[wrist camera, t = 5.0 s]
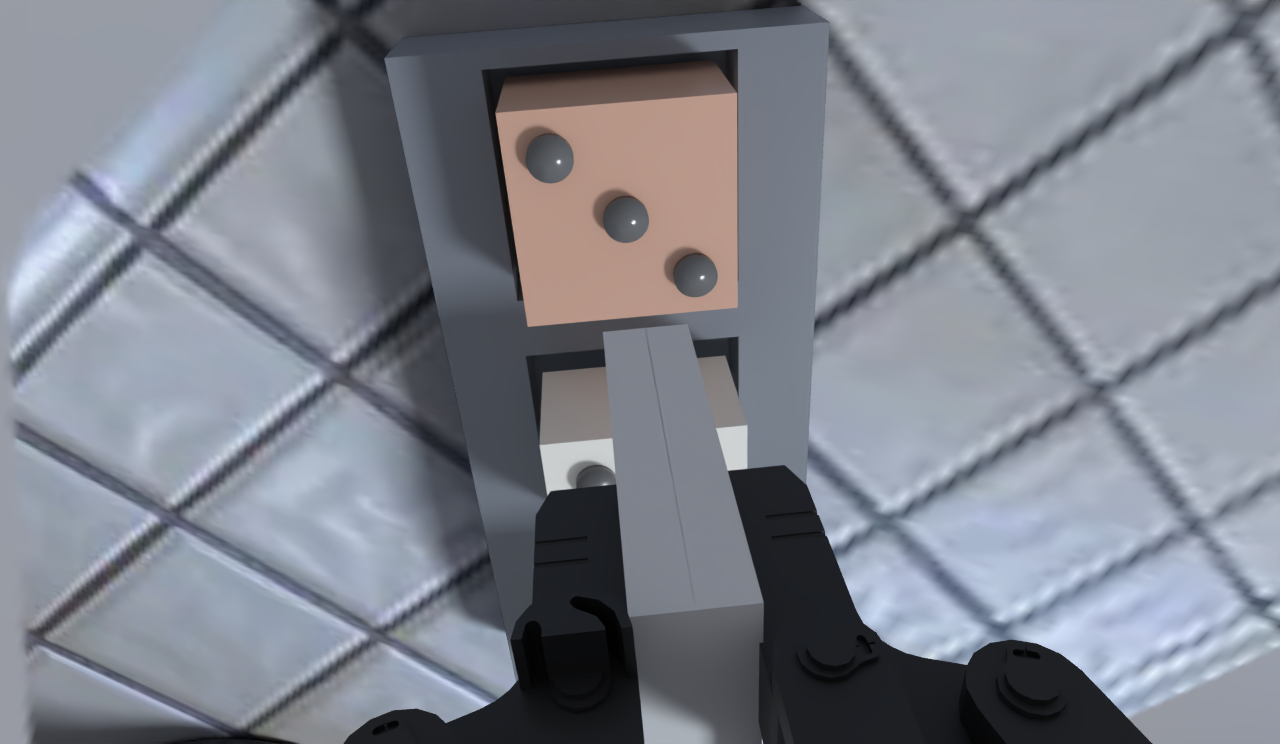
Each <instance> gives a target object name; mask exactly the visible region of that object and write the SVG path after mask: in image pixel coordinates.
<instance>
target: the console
mask: <svg viewBox="0 0 1280 744" xmlns="http://www.w3.org/2000/svg"><path fill="white" fill-rule="evenodd" d="M829 23H830V22H829V21H827V20H825V19H824V18H822V17H821V16H819V15H817V14H816V13H814V12H813V11H811V10H809V9H808V8H806V7H805V6H790V7H778V8H765V9H753V10H740V11H728V12H715V13H703V14H690V15H678V16H665V17H653V18H640V19H628V20H616V21H603V22H591V23H578V24H566V25H553V26H541V27H528V28H516V29H503V30H491V31H478V32H466V33H453V34H441V35H428V36H416V37H404V38H402V39H401V40H400V41H399V42H398V43H397V44H396V46H395V47H394V48H393V49H392V50H391V51H390V52H389V53H388V54H387V56H386V57H385V58H384V59H385V64H386V69H387V74H388V78H389V83H390V88H391V92H392V97H393V102H394V107H395V111H396V116H397V121H398V126H399V130H400V135H401V140H402V144H403V149H404V154H405V159H406V163H407V168H408V173H409V177H410V182H411V187H412V192H413V196H414V201H415V206H416V211H417V215H418V220H419V225H420V229H421V234H422V239H423V244H424V248H425V253H426V258H427V263H428V267H429V272H430V277H431V281H432V286H433V291H434V296H435V300H436V305H437V310H438V314H439V319H440V324H441V329H442V333H443V338H444V343H445V348H446V352H447V357H448V362H449V366H450V371H451V376H452V381H453V385H454V390H455V395H456V400H457V404H458V409H459V414H460V418H461V423H462V428H463V433H464V437H465V442H466V447H467V451H468V456H469V461H470V466H471V470H472V475H473V480H474V485H475V489H476V494H477V499H478V503H479V508H480V513H481V518H482V522H483V527H484V532H485V537H486V541H487V546H488V551H489V555H490V560H491V565H492V570H493V574H494V579H495V584H496V588H497V593H498V598H499V603H500V607H501V612H502V617H503V622H504V626H505V631H506V636H507V640H508V645H509V650H510V655H511V659H512V664H513V669H514V673H515V678H516V682H517V681H518V675H517V671H516V666H515V661H514V656H513V652H512V647H511V642H510V639H511V636H512V632H513V629H514V626H515V623H516V621H517V620H518V618H519V617H520V616H521V615H522V614H523V613H524V611H525V610H526V609H527V608H528V607H529V605H531V604H532V596H533V570H534V547H535V518H536V514H537V512H538V511H539V509H540V507H541V506H542V504H543V502H544V501H545V499H546V497H547V490H546V484H545V477H544V471H543V464H542V458H541V451H540V423H541V400H542V377H543V372H554V371H564V370H575V369H586V368H597V367H606V362H605V350H604V339H603V332H608V331H618V330H629V329H639V328H650V327H660V326H671V325H681V324H688V327H689V331H690V335H691V338H692V342H693V345H694V349H695V353H696V356H697V358H704V357H715V356H725V357H726V360H727V363H728V366H729V369H730V372H731V375H732V378H733V382H734V385H735V388H736V391H737V394H738V397H739V400H740V403H741V407H742V410H743V413H744V416H745V419H746V422H747V425H748V426H747V469H750V468H760V467H769V466H779V465H785V466H786V467H787V468H788V469H790V470H791V471H792V472H793V473H794V474H795V475H796V476H797V477H798V478H799V479H801V480H802V481H803V482H804V483H805V484H806V474H807V455H808V435H809V415H810V396H811V376H812V357H813V337H814V317H815V298H816V278H817V259H818V239H819V219H820V200H821V180H822V160H823V141H824V121H825V102H826V82H827V62H828V43H829ZM706 60H714V62H715V63H716V65H717V66H718V67H719V69H720V70H721V71H722V73H723V74H724V76H725V77H726V78H727V80H728V81H729V82H730V84H731V85H732V87H733V88H734V89H735V91H736V92H737V232H738V308H729V309H718V310H707V311H696V312H685V313H674V314H663V315H652V316H641V317H630V318H619V319H608V320H597V321H586V322H575V323H564V324H554V325H543V326H532V327H528V325H527V319H526V312H525V305H524V299H523V292H522V285H521V279H520V272H519V266H518V259H517V252H516V246H515V239H514V232H513V226H512V219H511V212H510V206H509V199H508V193H507V186H506V179H505V173H504V166H503V159H502V153H501V146H500V139H499V133H498V126H497V119H496V109H497V106H498V102H499V98H500V95H501V91H502V87H503V84H504V80H505V77H511V76H523V75H535V74H547V73H559V72H572V71H584V70H596V69H608V68H620V67H633V66H645V65H657V64H669V63H682V62H694V61H706Z"/></svg>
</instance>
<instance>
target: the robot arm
mask: <svg viewBox="0 0 1280 744" xmlns="http://www.w3.org/2000/svg"><path fill="white" fill-rule="evenodd" d="M603 339H604V350H605V362H606V373H607V384H608V396H609V407H610V418H611V429H612V441H613V452H614V463H615V474H616V484H614V485H604V486H595V487H585V488H575V489H565V490H555V491H550V493H549V494H548V496H547V497H546V499H545V501H544V502H543V504H542V506H541V507H540V509H539V511H538V512H537V514H536V518H535V547H534V570H533V596H532V604H531V605H529V607H528V608H527V609H526V610H525V611H524V613H523V614H522V615H521V616H520V617H519V618H518V620H517V621H516V623H515V626H514V629H513V632H512V636H511V639H510V642H511V647H512V652H513V656H514V661H515V666H516V671H517V675H518V681H517V682H516V683H515V684H514V685H513V687H512V688H511V689H510V690H509V691H508V692H506V693H505V694H504V695H503V696H501V697H500V698H499V699H498V700H496V701H495V702H493V703H491V704H489V705H487V706H485V707H483V708H481V709H480V710H477V711H475V712H472V713H470V714H467V715H465V716H462V717H460V718H458V719H455V720H453V721H450V722H448V723H445V722H444V721H443V720H442V719H441V718H440V717H439V716H437V715H436V714H433V713H429V712H426V711H423V710H419V709H406V710H393V711H391V712H388V713H386V714H383V715H381V716H378V717H376V718H373V719H371V720H369V721H368V722H367V723H365V724H364V725H363V726H361V727H360V728H359V729H358V730H356V731H355V732H354V733H352V734H351V735H350V736H349V737H348V738H347V740H346V741H345V743H344V744H762V740H763V744H1152V743H1151V742H1150V741H1149V740H1148V739H1147V738H1146V737H1145V736H1144V735H1143V734H1142V733H1141V732H1140V731H1139V730H1138V728H1136V726H1134V724H1133V723H1132V722H1131V721H1130V720H1129V719H1128V718H1127V717H1126V716H1125V715H1124V714H1123V713H1122V712H1121V711H1120V710H1119V709H1118V708H1117V707H1116V706H1115V705H1114V704H1113V703H1112V701H1111V700H1110V699H1109V698H1108V697H1107V696H1106V695H1105V694H1104V693H1103V692H1102V691H1101V690H1100V689H1099V688H1098V687H1097V686H1096V685H1095V684H1094V683H1093V682H1092V681H1091V680H1090V679H1089V678H1088V677H1087V676H1086V674H1085V673H1084V672H1083V671H1082V670H1080V669H1079V668H1078V667H1077V666H1075V665H1074V664H1073V663H1072V662H1070V661H1069V660H1068V659H1066V658H1065V657H1064V656H1063V655H1061V654H1059V653H1057V652H1055V651H1052V650H1050V649H1048V648H1046V647H1043V646H1041V645H1039V644H1036V643H1030V642H1023V641H1017V640H1007V641H1000V642H993V643H989V644H988V645H986V646H984V647H983V648H981V649H979V650H978V651H976V652H975V653H974V654H973V656H972V657H971V659H970V661H969V663H968V665H964V664H958V663H951V662H945V661H939V660H933V659H927V658H922V657H918V656H915V655H911V654H907V653H904V652H902V651H900V650H898V649H895V648H893V647H891V646H889V645H887V644H886V643H885V642H883V641H882V640H881V639H880V638H879V636H878V635H877V633H876V632H874V631H873V630H872V629H870V628H869V627H868V626H866V625H865V624H863V622H862V620H861V618H860V617H859V615H858V613H857V611H856V609H855V606H854V604H853V601H852V599H851V596H850V594H849V591H848V589H847V586H846V584H845V581H844V578H843V576H842V573H841V571H840V568H839V566H838V563H837V561H836V558H835V556H834V553H833V550H832V548H831V545H830V543H829V540H828V538H827V536H825V530H824V528H823V525H822V523H821V520H820V517H819V515H817V510H816V507H815V505H814V502H813V500H812V497H811V495H810V492H809V489H808V487H807V485H806V484H805V483H804V482H803V481H802V480H801V479H799V478H798V477H797V476H796V475H795V474H794V473H793V472H792V471H791V470H790V469H788V468H787V467H786V466H785V465H779V466H769V467H760V468H750V469H740V470H730V471H728V470H727V466H726V463H725V459H724V455H723V452H722V448H721V444H720V441H719V437H718V433H717V430H716V426H715V422H714V419H713V415H712V411H711V408H710V404H709V400H708V397H707V393H706V389H705V386H704V382H703V378H702V375H701V371H700V367H699V364H698V360H697V356H696V353H695V349H694V345H693V342H692V338H691V335H690V331H689V327H688V324H681V325H671V326H660V327H650V328H639V329H629V330H618V331H608V332H603ZM177 744H278V743H273V742H266V741H258V740H248V739H206V740H196V741H188V742H182V743H177Z"/></svg>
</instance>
